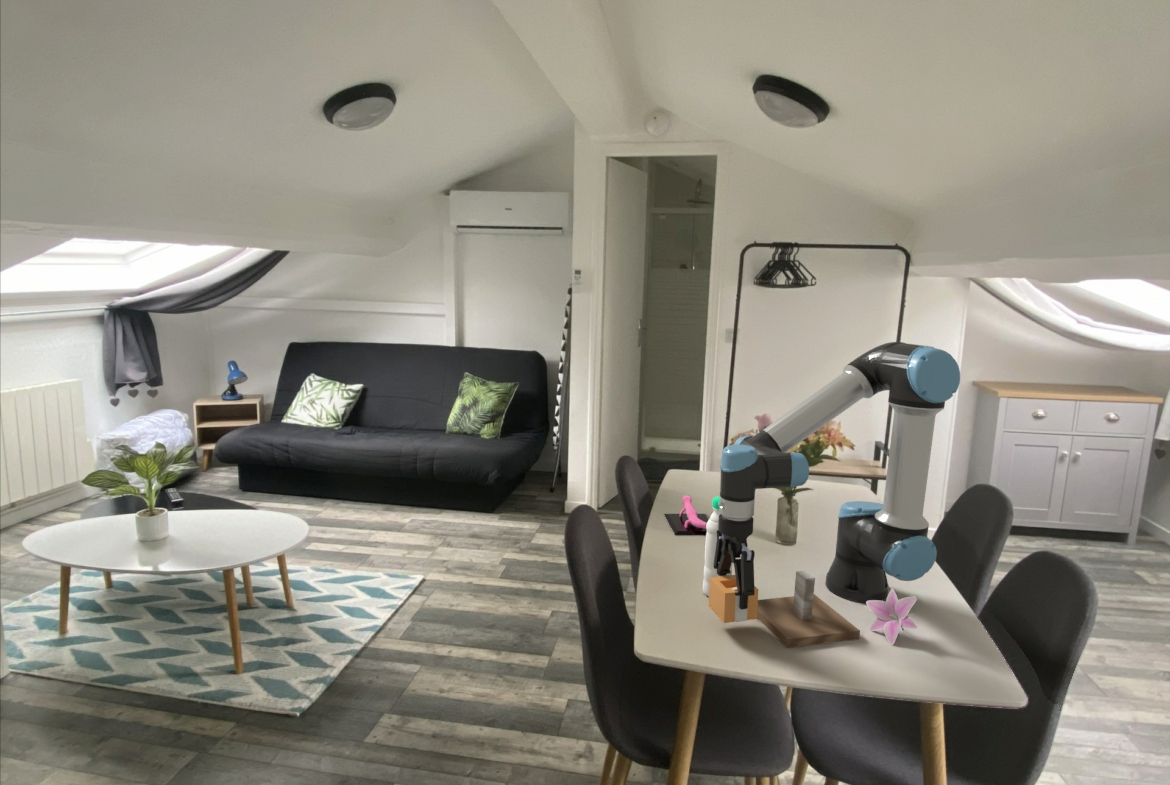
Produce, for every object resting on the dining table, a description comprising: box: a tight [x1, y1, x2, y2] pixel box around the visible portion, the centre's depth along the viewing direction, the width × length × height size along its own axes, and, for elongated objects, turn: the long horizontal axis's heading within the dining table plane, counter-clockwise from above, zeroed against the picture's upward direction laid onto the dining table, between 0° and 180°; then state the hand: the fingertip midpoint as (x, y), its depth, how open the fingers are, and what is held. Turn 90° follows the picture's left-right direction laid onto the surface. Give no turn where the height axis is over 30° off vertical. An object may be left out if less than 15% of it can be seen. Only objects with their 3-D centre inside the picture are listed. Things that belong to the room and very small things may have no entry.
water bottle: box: [702, 496, 733, 597], centre depth 172 cm, size 7×7×25 cm
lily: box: [865, 588, 918, 646], centre depth 157 cm, size 12×12×10 cm
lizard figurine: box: [663, 495, 710, 536], centre depth 223 cm, size 15×20×7 cm
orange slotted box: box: [708, 574, 759, 624], centre depth 156 cm, size 8×8×7 cm
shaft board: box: [757, 570, 861, 648], centre depth 160 cm, size 18×18×12 cm
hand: (731, 611), depth 157 cm, fingers closed on orange slotted box, 8 cm apart
